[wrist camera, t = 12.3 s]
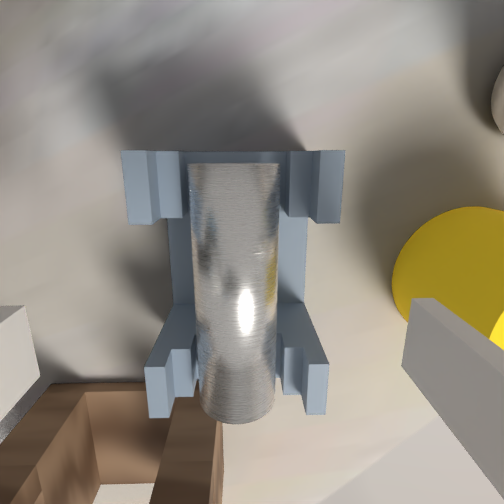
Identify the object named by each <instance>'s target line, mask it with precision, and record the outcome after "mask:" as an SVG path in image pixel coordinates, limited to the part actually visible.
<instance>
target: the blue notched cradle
mask: <svg viewBox="0 0 504 504" xmlns="http://www.w3.org/2000/svg"><path fill="white" fill-rule="evenodd" d="M121 159H122V168H123V177H124V186H125V196H126V205H127V214H128V224H129V225H152V224H154V223H155V222H156V221H158V220H159V219H160V218H167V223H168V237H169V250H170V264H171V278H172V291H173V307H172V309H171V311H170V313H169V315H168V317H167V319H166V321H165V324H164V326H163V328H162V330H161V332H160V334H159V336H158V339H157V341H156V343H155V345H154V347H153V349H152V351H151V353H150V356H149V358H148V360H147V362H146V364H145V366H144V372H145V381H146V391H147V400H148V409H149V418H169V417H170V413H171V410H172V406H173V403H174V399H175V397H193V396H194V391H195V386H196V381H197V379H199V372H198V353H197V334H196V316H195V297H194V278H193V259H192V240H191V221H190V202H189V183H188V164H190V163H279V164H280V205H279V247H278V289H277V331H276V373H275V378H281V384H282V390H283V395H301V396H302V400H303V404H304V408H305V412H306V415H325V414H326V401H327V388H328V375H329V362H328V360H327V357H326V355H325V353H324V350H323V348H322V345H321V343H320V341H319V338H318V336H317V333H316V331H315V329H314V326H313V324H312V321H311V319H310V317H309V314H308V312H307V309H306V307H305V305H304V288H305V267H306V246H307V225H308V217H310V218H311V219H312V220H313V221H315V222H316V223H317V224H320V223H340V215H341V202H342V189H343V175H344V162H345V150H319V151H219V152H184V151H148V150H121Z"/></svg>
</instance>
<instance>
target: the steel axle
mask: <svg viewBox="0 0 504 504" xmlns="http://www.w3.org/2000/svg"><path fill="white" fill-rule="evenodd" d="M188 183H189V202H190V221H191V240H192V259H193V278H194V297H195V316H196V334H197V353H198V372H199V391H200V403H201V407H202V408H203V410H204V411H205V413H206V414H207V415H208V416H210V417H211V418H213V419H215V420H217V421H220V422H223V423H227V424H244V423H249V422H253V421H255V420H258V419H259V418H261V417H263V416H264V415H266V414H267V413H268V412H269V411H270V409H271V408H272V406H273V404H274V401H275V373H276V331H277V289H278V247H279V205H280V164H279V163H190V164H188Z"/></svg>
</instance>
